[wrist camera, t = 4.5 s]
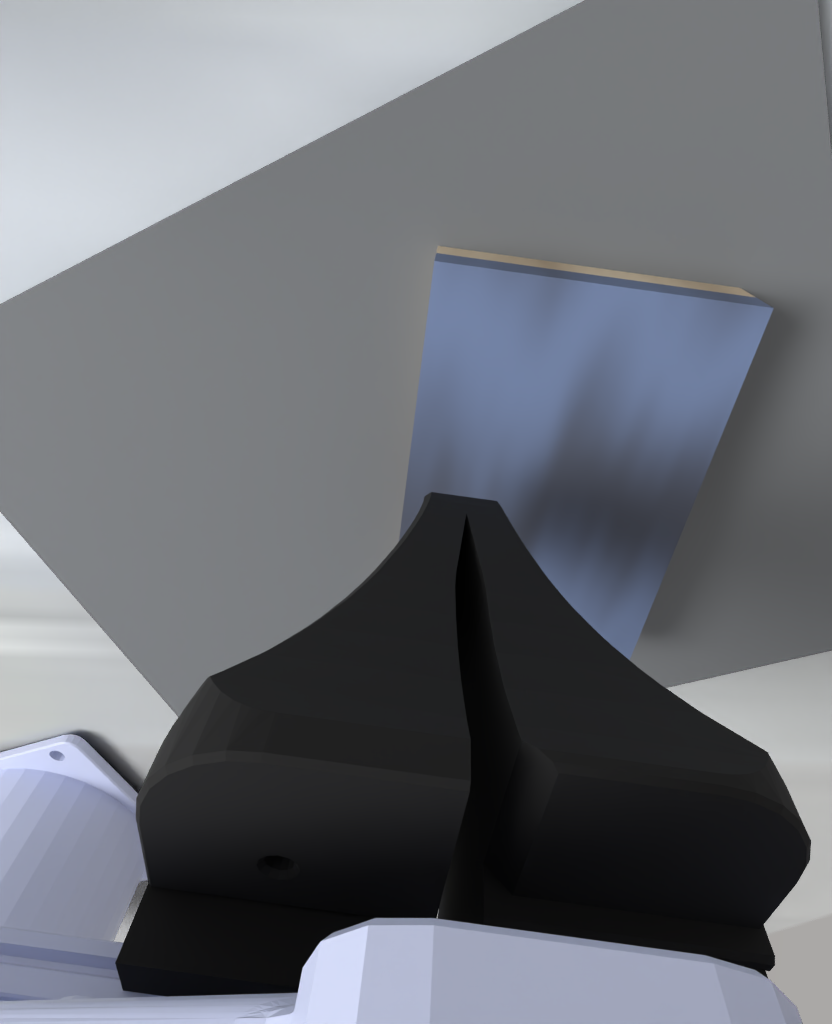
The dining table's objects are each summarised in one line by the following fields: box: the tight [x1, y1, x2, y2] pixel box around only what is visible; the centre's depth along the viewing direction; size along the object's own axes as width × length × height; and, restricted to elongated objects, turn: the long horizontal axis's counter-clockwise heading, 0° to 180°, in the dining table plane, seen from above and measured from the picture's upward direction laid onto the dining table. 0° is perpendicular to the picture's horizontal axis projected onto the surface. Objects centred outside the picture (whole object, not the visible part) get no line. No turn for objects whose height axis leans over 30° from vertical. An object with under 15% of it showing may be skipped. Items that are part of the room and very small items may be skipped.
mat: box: [0, 0, 832, 717], centre depth 16 cm, size 20×16×1 cm
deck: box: [399, 246, 774, 660], centre depth 14 cm, size 9×2×6 cm
